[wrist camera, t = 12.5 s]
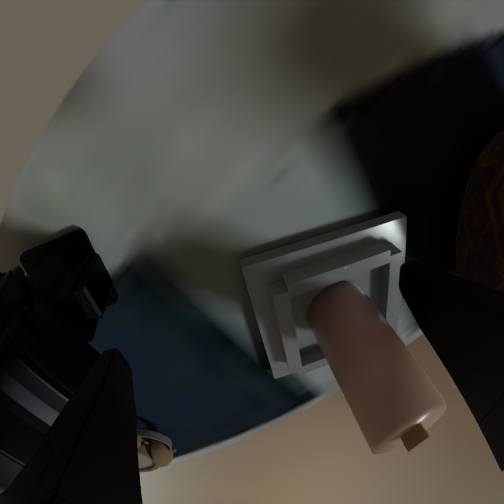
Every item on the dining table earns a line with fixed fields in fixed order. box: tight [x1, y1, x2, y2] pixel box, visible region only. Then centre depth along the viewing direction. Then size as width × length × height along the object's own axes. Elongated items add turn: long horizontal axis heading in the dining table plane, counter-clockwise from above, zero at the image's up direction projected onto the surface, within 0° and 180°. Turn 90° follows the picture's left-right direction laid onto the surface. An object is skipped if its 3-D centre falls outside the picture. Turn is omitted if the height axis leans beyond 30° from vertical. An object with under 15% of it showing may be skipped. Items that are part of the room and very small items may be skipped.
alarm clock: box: [137, 428, 176, 472], centre depth 31 cm, size 11×5×15 cm
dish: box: [239, 211, 407, 379], centre depth 26 cm, size 14×14×3 cm
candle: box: [306, 282, 447, 454], centre depth 20 cm, size 6×6×14 cm
